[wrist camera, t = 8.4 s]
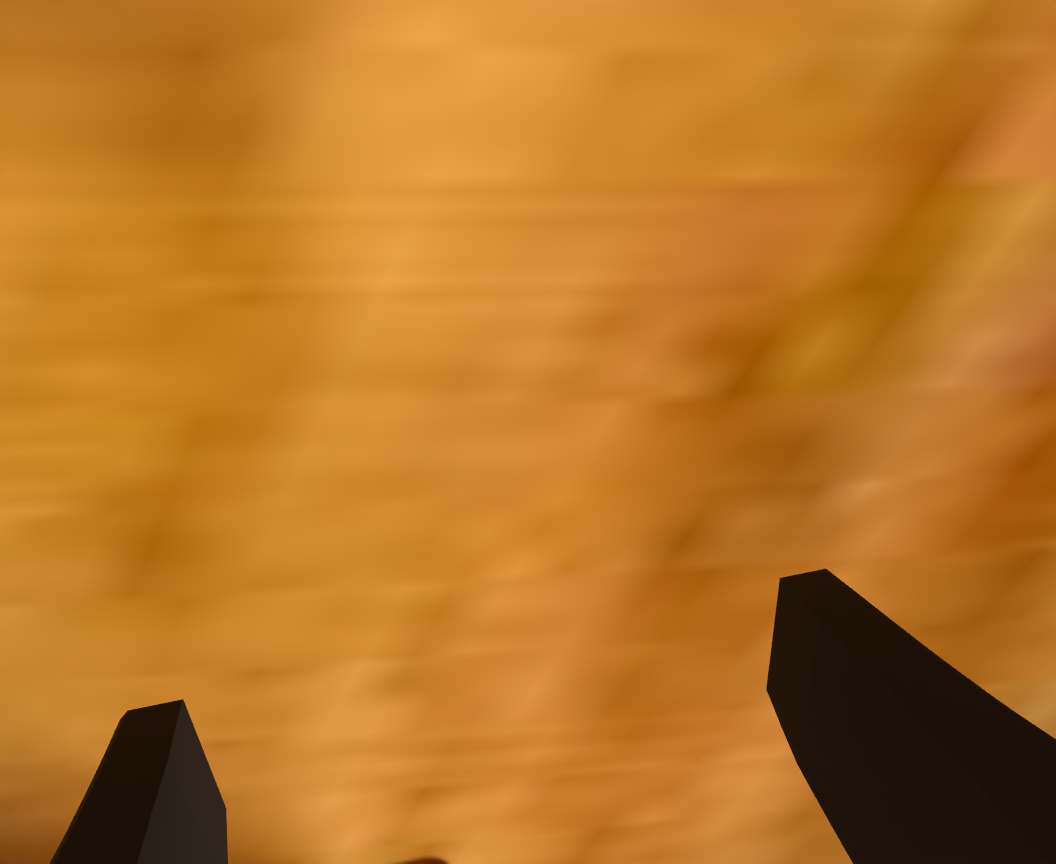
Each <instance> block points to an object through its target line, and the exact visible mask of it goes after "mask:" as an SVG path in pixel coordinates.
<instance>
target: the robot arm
mask: <svg viewBox="0 0 1056 864" xmlns="http://www.w3.org/2000/svg"><path fill="white" fill-rule="evenodd" d="M767 692H768V694H769V697H770V699H771V702H772V704H773V707H774V709H775V712H776V714H777V717H778V719H779V722H780V724H781V727H782V729H783V732H784V734H785V736H786V739H787V741H788V743H789V746H790V748H791V750H792V753H793V755H794V757H795V760H796V762H797V764H798V766H799V768H800V770H801V772H802V773H803V775H804V777H805V779H806V781H807V783H808V784H809V786H810V788H811V790H812V792H813V793H814V795H815V797H816V799H817V801H818V802H819V804H820V806H821V808H822V809H823V811H824V813H825V815H826V817H827V818H828V820H829V822H830V824H831V826H832V827H833V829H834V831H835V833H836V834H837V836H838V838H839V840H840V841H841V843H842V845H843V847H844V848H845V850H846V852H847V854H848V855H849V857H850V859H851V861H852V862H853V864H1056V739H1055V738H1053V737H1052V736H1050V735H1049V734H1047V733H1046V732H1044V731H1043V730H1041V729H1040V728H1038V727H1037V726H1035V725H1034V724H1032V723H1031V722H1029V721H1028V720H1026V719H1025V718H1023V717H1022V716H1020V715H1019V714H1017V713H1016V712H1014V711H1013V710H1011V709H1010V708H1008V707H1007V706H1006V705H1004V704H1003V703H1001V702H1000V701H998V700H997V699H996V698H994V697H993V696H991V695H990V694H989V693H987V692H986V691H985V690H983V689H982V688H981V687H979V686H978V685H976V684H975V683H974V682H972V681H971V680H970V679H968V678H967V677H966V676H964V675H963V674H962V673H960V672H959V671H957V670H956V669H955V668H953V667H952V666H951V665H949V664H948V663H947V662H945V661H944V660H943V659H941V658H940V657H939V656H937V655H936V654H935V653H933V652H932V651H931V650H929V649H928V648H927V647H925V646H924V645H923V644H922V643H920V642H919V641H918V640H916V639H915V638H914V637H913V636H911V635H910V634H909V633H907V632H906V631H905V630H904V629H902V628H901V627H900V626H898V625H897V624H896V623H895V622H893V621H892V620H891V619H889V618H888V617H887V616H886V615H884V614H883V613H882V612H881V611H879V610H878V609H877V608H876V607H874V606H873V605H872V604H870V603H869V602H868V601H867V600H865V599H864V598H863V597H862V596H860V595H859V594H858V593H856V592H855V591H854V590H853V589H851V588H850V587H849V586H848V585H846V584H845V583H844V582H842V581H841V580H840V579H839V578H837V577H836V576H835V575H833V574H832V573H831V572H830V571H828V570H827V569H822V570H817V571H812V572H807V573H803V574H798V575H793V576H788V577H783V578H780V582H779V591H778V599H777V607H776V615H775V623H774V631H773V640H772V648H771V656H770V664H769V672H768V681H767ZM50 864H228V854H227V823H226V807H225V804H224V802H223V799H222V797H221V794H220V792H219V789H218V787H217V784H216V782H215V779H214V777H213V774H212V771H211V769H210V766H209V764H208V761H207V759H206V756H205V754H204V751H203V749H202V746H201V744H200V741H199V738H198V736H197V733H196V731H195V728H194V726H193V723H192V721H191V718H190V716H189V713H188V711H187V708H186V705H185V703H184V700H178V701H173V702H168V703H163V704H158V705H153V706H148V707H143V708H138V709H133V710H129V711H127V712H126V713H125V715H124V716H123V717H122V718H121V719H120V721H119V723H118V726H117V728H116V730H115V732H114V735H113V737H112V739H111V741H110V743H109V746H108V748H107V750H106V752H105V754H104V756H103V759H102V761H101V763H100V765H99V767H98V769H97V771H96V773H95V776H94V778H93V780H92V782H91V784H90V786H89V788H88V790H87V792H86V794H85V796H84V798H83V800H82V802H81V804H80V806H79V808H78V810H77V812H76V814H75V816H74V818H73V820H72V822H71V824H70V826H69V828H68V830H67V832H66V834H65V836H64V838H63V840H62V842H61V844H60V845H59V847H58V849H57V851H56V853H55V855H54V857H53V859H52V860H51V862H50Z"/></svg>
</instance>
